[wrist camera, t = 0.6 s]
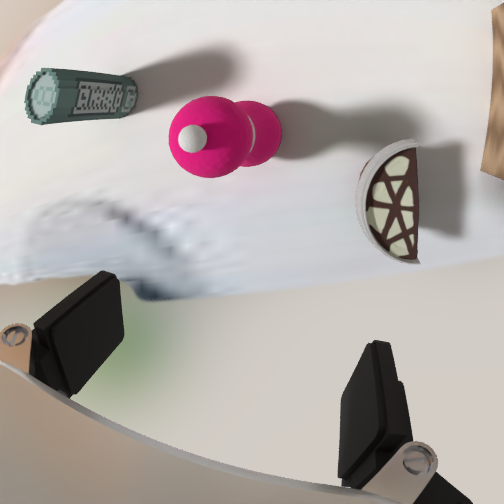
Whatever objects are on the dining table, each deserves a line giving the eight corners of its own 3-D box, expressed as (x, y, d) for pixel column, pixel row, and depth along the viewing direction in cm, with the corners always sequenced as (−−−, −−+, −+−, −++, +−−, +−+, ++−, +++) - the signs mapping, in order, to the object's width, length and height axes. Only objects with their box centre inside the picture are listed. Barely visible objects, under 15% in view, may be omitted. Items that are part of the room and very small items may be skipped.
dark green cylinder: (109, 74, 35) (31, 67, 22) (142, 79, 35) (64, 68, 21) (99, 113, 38) (21, 120, 24) (131, 121, 38) (52, 127, 24)
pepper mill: (296, 118, 33) (267, 105, 15) (270, 172, 37) (218, 218, 19) (240, 95, 34) (158, 67, 16) (217, 147, 37) (123, 171, 19)
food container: (343, 138, 33) (352, 141, 24) (394, 136, 32) (419, 139, 23) (352, 238, 38) (360, 273, 29) (398, 235, 36) (420, 269, 27)
